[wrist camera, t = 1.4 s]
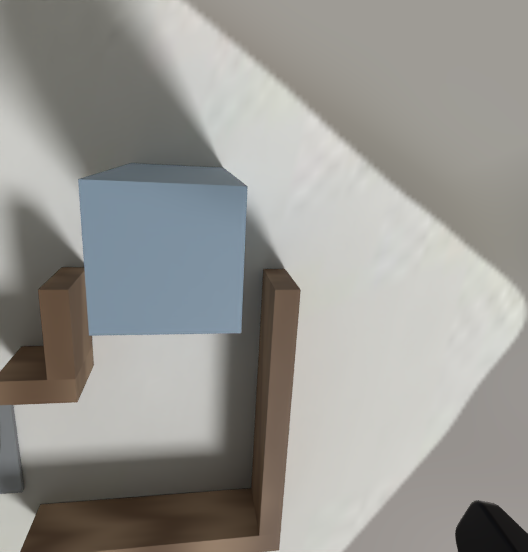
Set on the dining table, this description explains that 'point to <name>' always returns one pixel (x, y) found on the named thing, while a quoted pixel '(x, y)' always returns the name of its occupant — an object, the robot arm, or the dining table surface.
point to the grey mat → (9, 453)
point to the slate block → (163, 249)
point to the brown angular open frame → (175, 507)
